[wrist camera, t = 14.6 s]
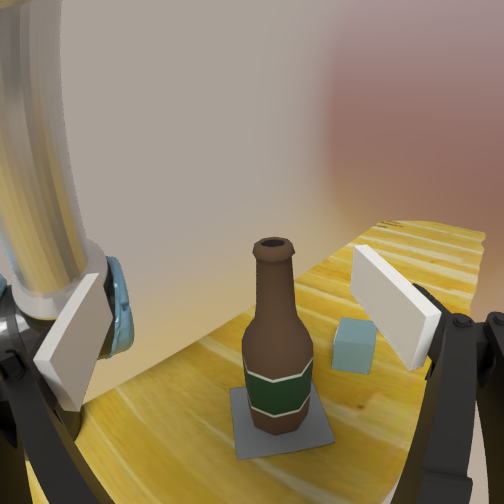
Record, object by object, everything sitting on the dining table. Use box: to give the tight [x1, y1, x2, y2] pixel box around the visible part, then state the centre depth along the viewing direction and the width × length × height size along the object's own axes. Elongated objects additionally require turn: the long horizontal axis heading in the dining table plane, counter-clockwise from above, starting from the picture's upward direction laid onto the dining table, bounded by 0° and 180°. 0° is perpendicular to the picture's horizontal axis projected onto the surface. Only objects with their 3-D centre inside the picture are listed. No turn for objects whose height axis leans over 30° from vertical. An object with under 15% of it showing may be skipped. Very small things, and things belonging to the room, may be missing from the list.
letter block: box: [331, 317, 377, 374], centre depth 45 cm, size 6×6×6 cm
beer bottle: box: [242, 237, 313, 436], centre depth 32 cm, size 8×8×24 cm
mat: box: [230, 380, 335, 460], centre depth 37 cm, size 12×12×1 cm
